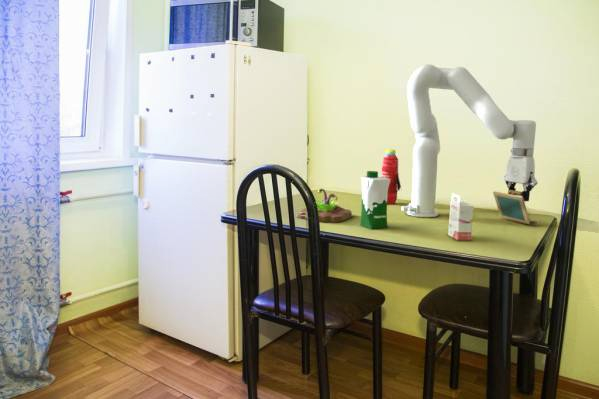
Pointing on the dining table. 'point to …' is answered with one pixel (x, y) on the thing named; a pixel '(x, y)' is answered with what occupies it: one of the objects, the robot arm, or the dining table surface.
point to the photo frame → (512, 206)
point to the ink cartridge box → (460, 219)
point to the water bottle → (391, 175)
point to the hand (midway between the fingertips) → (518, 199)
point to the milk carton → (374, 200)
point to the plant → (329, 210)
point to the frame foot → (532, 223)
